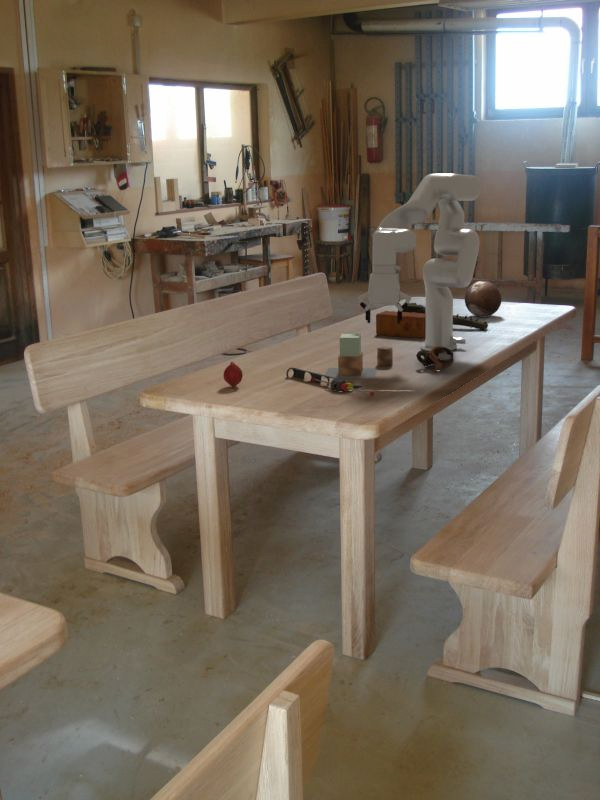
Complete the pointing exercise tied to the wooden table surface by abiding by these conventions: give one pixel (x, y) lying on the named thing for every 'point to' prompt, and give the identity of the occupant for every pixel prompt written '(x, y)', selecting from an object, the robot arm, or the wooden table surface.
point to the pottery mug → (435, 357)
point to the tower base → (350, 365)
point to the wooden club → (456, 319)
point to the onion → (233, 374)
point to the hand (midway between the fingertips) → (383, 322)
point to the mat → (366, 374)
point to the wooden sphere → (483, 298)
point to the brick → (401, 324)
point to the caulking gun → (335, 384)
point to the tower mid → (350, 345)
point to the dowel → (384, 356)
